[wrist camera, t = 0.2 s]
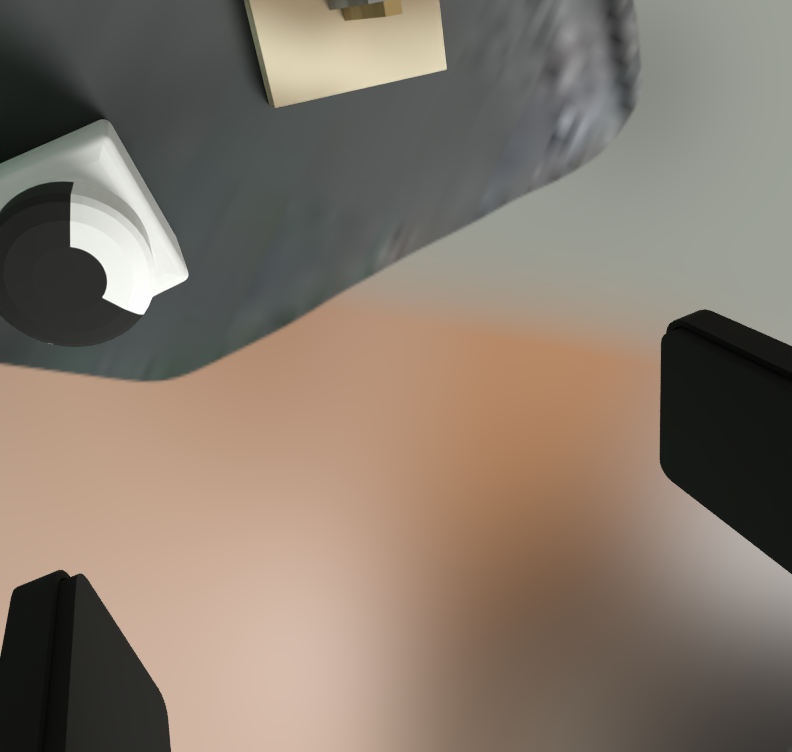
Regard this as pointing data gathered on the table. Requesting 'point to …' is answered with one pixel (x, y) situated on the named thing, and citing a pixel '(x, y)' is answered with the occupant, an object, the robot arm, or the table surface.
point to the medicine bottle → (81, 240)
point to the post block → (342, 44)
